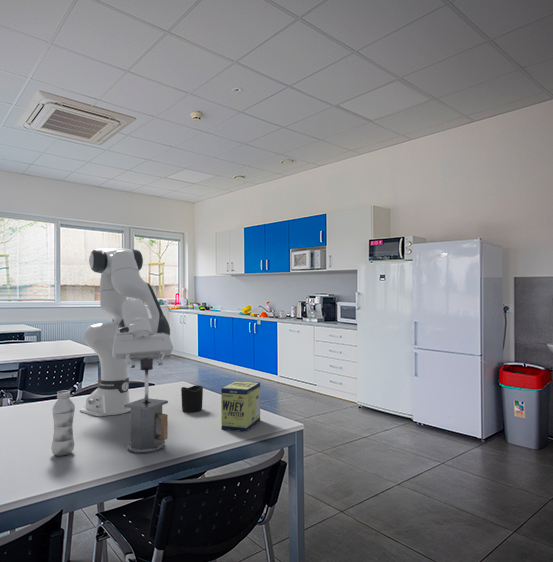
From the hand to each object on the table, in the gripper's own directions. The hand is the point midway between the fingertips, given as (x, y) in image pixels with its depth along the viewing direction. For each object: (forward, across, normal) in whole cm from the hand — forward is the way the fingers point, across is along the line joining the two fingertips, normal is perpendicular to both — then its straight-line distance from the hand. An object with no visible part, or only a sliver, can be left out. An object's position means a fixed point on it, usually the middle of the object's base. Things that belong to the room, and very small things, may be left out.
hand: (147, 365), depth 144 cm
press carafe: (+19, 0, -20) cm, 27 cm away
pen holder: (-6, -29, -45) cm, 54 cm away
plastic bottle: (+13, +24, -25) cm, 38 cm away
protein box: (+16, -38, -23) cm, 47 cm away
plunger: (+11, 0, -12) cm, 16 cm away
